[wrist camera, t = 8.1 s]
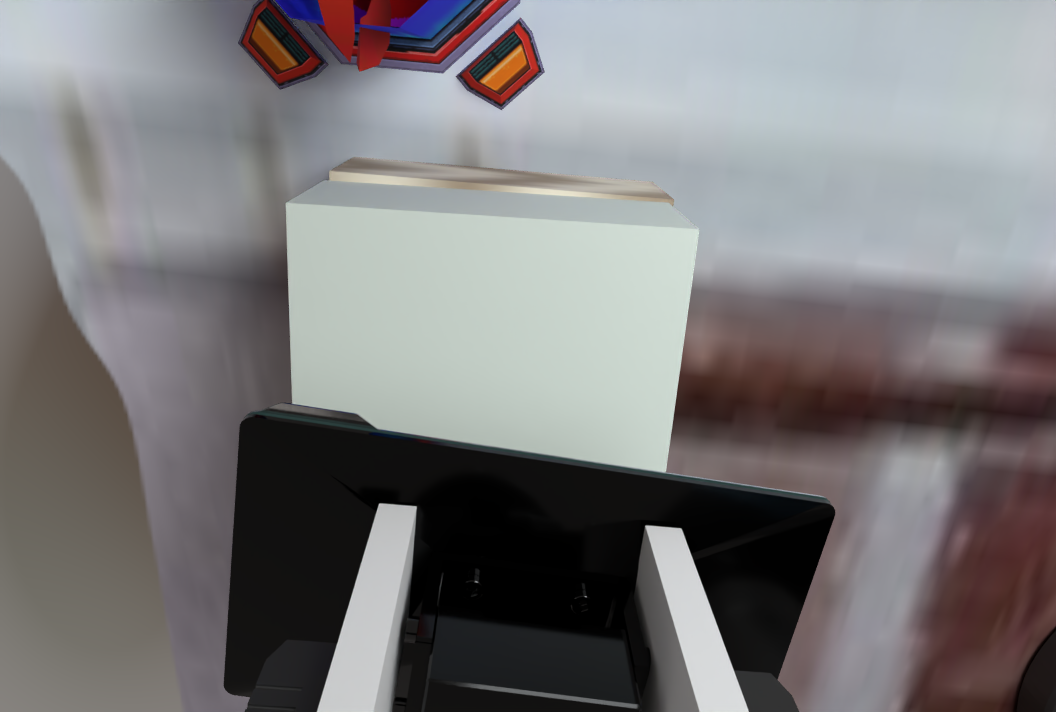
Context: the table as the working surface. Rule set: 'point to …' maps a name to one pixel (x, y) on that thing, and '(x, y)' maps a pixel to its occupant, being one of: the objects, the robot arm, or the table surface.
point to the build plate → (499, 561)
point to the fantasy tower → (395, 41)
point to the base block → (493, 180)
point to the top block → (492, 316)
